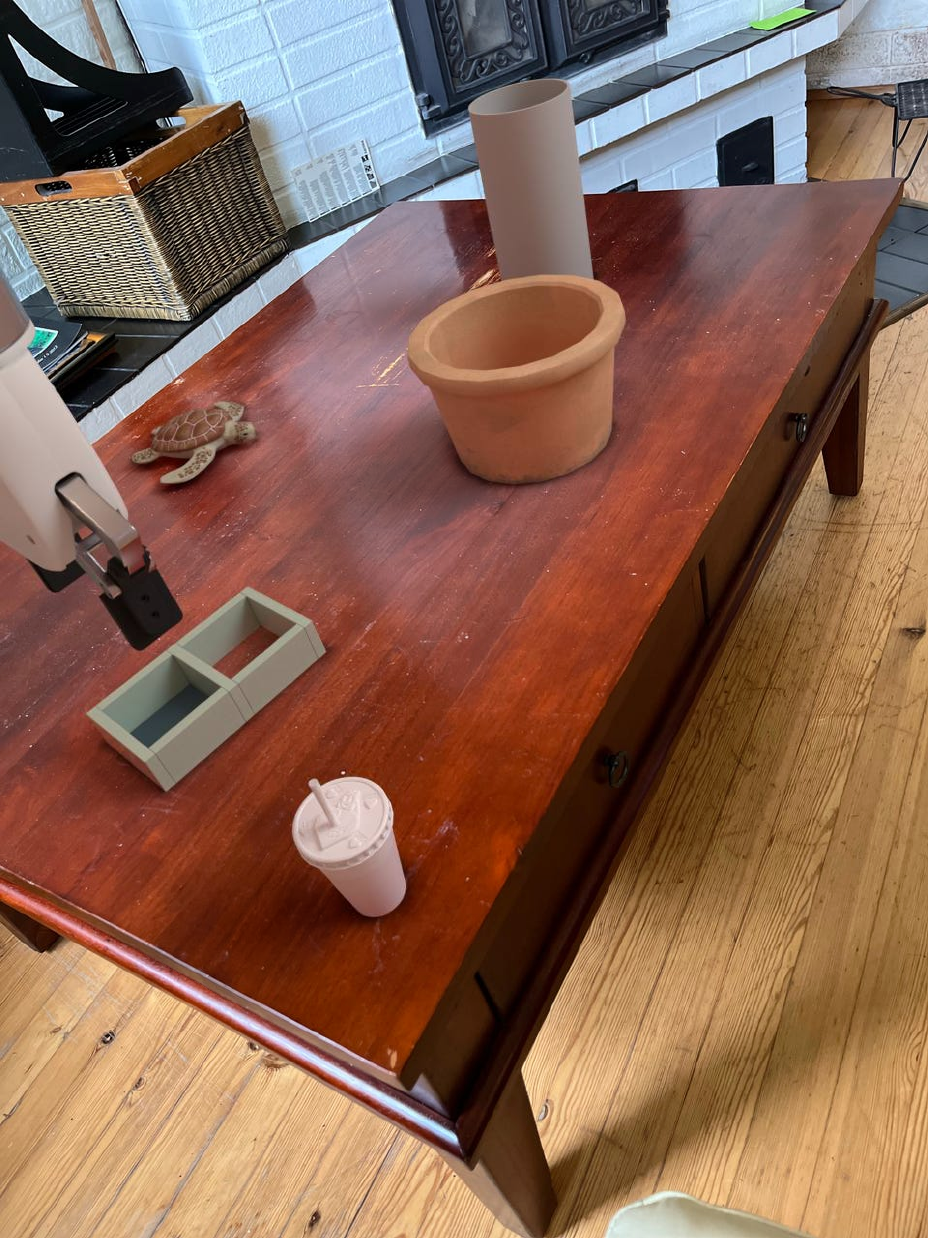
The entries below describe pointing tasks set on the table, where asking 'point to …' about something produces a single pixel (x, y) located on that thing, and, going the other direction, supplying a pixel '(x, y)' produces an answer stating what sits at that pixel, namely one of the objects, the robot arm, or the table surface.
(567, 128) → the cylinder vase
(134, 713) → the divided open box
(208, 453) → the decorative turtle
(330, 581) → the table surface
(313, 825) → the smoothie
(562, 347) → the pottery
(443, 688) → the table surface
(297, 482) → the table surface
